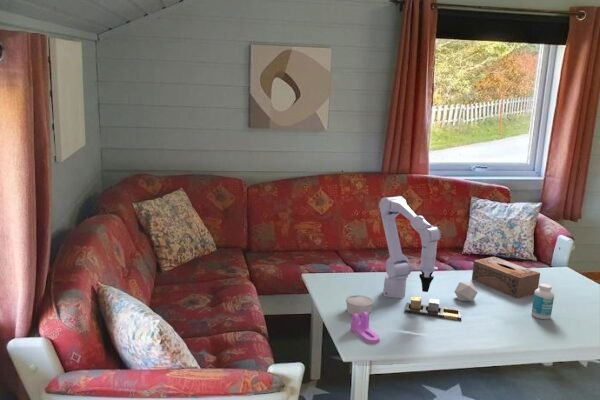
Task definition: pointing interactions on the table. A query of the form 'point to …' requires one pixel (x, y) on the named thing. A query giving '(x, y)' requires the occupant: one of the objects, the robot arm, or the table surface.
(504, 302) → the table surface
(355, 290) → the table surface
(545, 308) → the pill bottle
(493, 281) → the tissue box cover
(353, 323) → the bracket
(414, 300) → the light wood cube
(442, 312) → the rail
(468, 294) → the die
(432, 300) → the matte gray cube
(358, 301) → the ramekin
